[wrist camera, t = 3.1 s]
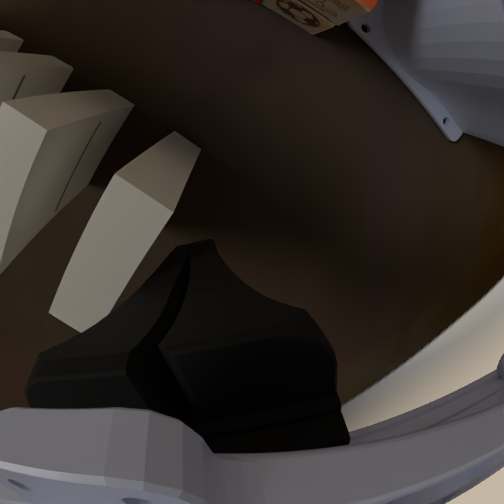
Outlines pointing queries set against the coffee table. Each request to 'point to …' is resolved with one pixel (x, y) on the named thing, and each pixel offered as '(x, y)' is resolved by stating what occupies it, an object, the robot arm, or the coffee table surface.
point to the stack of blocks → (319, 12)
